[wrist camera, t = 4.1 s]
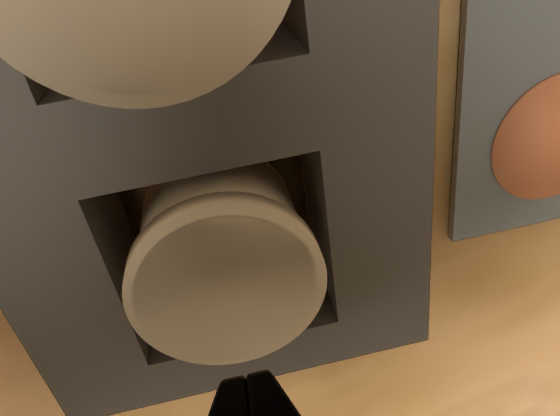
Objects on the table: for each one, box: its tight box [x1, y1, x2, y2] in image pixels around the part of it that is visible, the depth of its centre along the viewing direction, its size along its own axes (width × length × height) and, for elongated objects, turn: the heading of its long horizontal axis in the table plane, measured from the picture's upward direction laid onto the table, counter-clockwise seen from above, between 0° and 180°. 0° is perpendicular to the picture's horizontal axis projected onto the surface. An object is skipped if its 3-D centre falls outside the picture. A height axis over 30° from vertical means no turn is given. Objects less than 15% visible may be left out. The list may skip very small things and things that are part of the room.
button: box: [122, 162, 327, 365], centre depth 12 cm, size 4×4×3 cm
